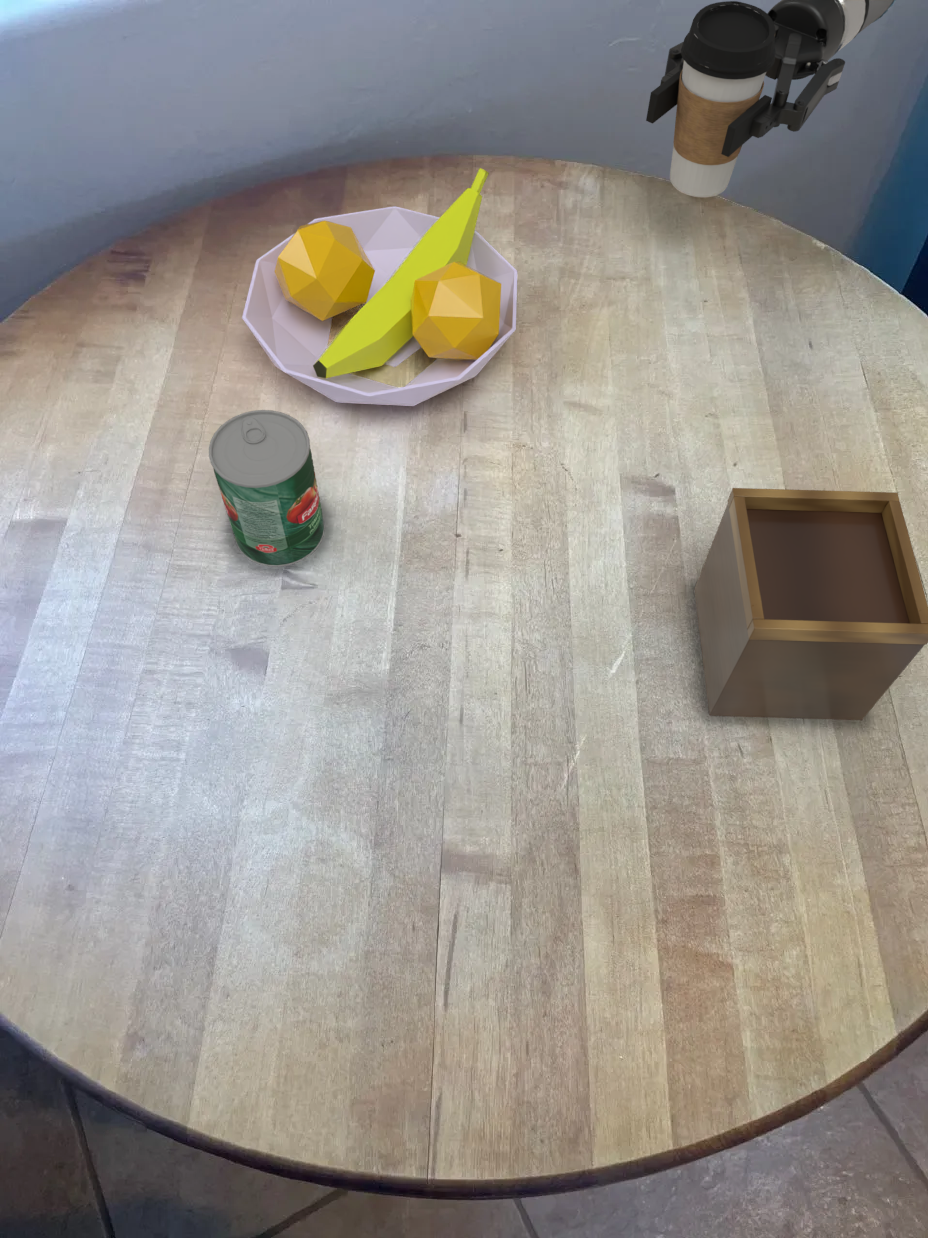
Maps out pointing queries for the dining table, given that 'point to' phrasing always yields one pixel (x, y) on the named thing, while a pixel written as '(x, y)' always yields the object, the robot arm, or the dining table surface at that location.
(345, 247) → the fruit bowl
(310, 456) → the canned tomato
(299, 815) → the dining table surface
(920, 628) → the box
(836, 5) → the robot arm
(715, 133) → the coffee cup
